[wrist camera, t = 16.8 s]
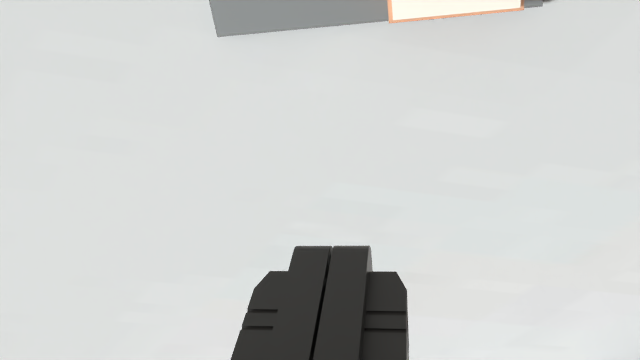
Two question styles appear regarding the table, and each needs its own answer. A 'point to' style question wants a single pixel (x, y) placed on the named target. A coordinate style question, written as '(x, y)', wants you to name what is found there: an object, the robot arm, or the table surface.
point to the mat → (298, 14)
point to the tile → (447, 8)
